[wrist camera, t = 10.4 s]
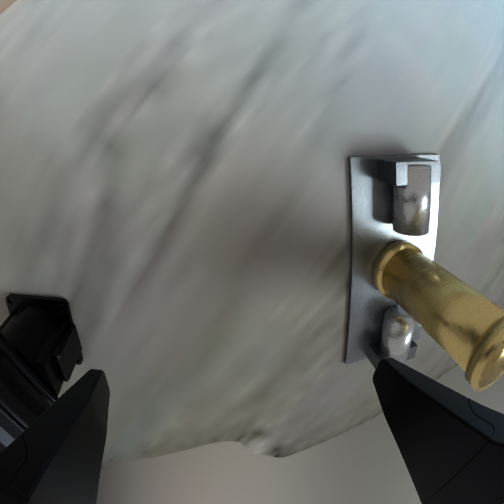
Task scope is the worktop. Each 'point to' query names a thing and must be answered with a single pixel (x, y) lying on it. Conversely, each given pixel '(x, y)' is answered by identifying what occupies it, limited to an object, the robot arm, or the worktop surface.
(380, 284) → the gold flanged cylinder
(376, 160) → the shaft bed
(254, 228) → the worktop surface
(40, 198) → the worktop surface
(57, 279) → the worktop surface
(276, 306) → the worktop surface
